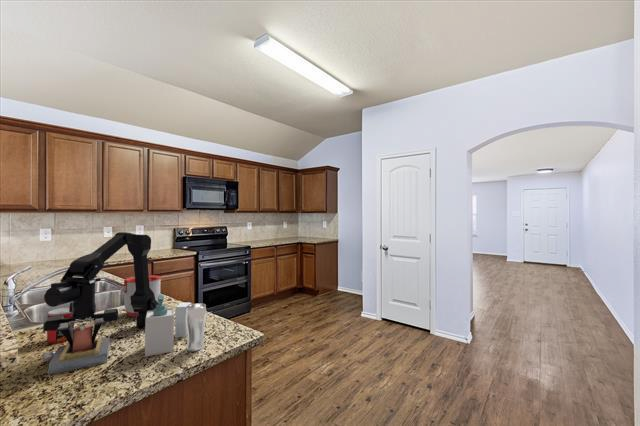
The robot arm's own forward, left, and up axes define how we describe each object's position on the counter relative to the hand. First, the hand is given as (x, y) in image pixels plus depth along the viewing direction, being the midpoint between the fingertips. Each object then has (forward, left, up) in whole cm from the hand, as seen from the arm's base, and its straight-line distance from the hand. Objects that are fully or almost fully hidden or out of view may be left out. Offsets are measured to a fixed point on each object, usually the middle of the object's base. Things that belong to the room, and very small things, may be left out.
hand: (82, 345), depth 96 cm
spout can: (0, 0, -2) cm, 2 cm away
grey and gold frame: (+2, 0, -5) cm, 5 cm away
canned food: (+9, -23, -5) cm, 25 cm away
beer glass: (-33, +10, -5) cm, 35 cm away
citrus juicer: (-17, -42, -5) cm, 45 cm away
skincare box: (-31, -5, -5) cm, 32 cm away
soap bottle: (-22, +5, -5) cm, 23 cm away
